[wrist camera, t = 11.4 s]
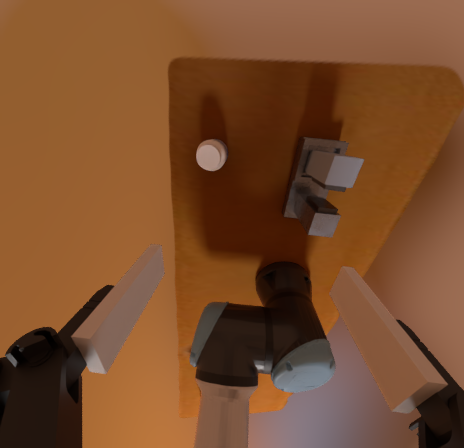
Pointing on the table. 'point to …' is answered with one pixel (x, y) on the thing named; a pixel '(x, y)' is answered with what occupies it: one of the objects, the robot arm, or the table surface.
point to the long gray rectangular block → (333, 169)
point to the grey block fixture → (311, 190)
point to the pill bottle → (212, 154)
